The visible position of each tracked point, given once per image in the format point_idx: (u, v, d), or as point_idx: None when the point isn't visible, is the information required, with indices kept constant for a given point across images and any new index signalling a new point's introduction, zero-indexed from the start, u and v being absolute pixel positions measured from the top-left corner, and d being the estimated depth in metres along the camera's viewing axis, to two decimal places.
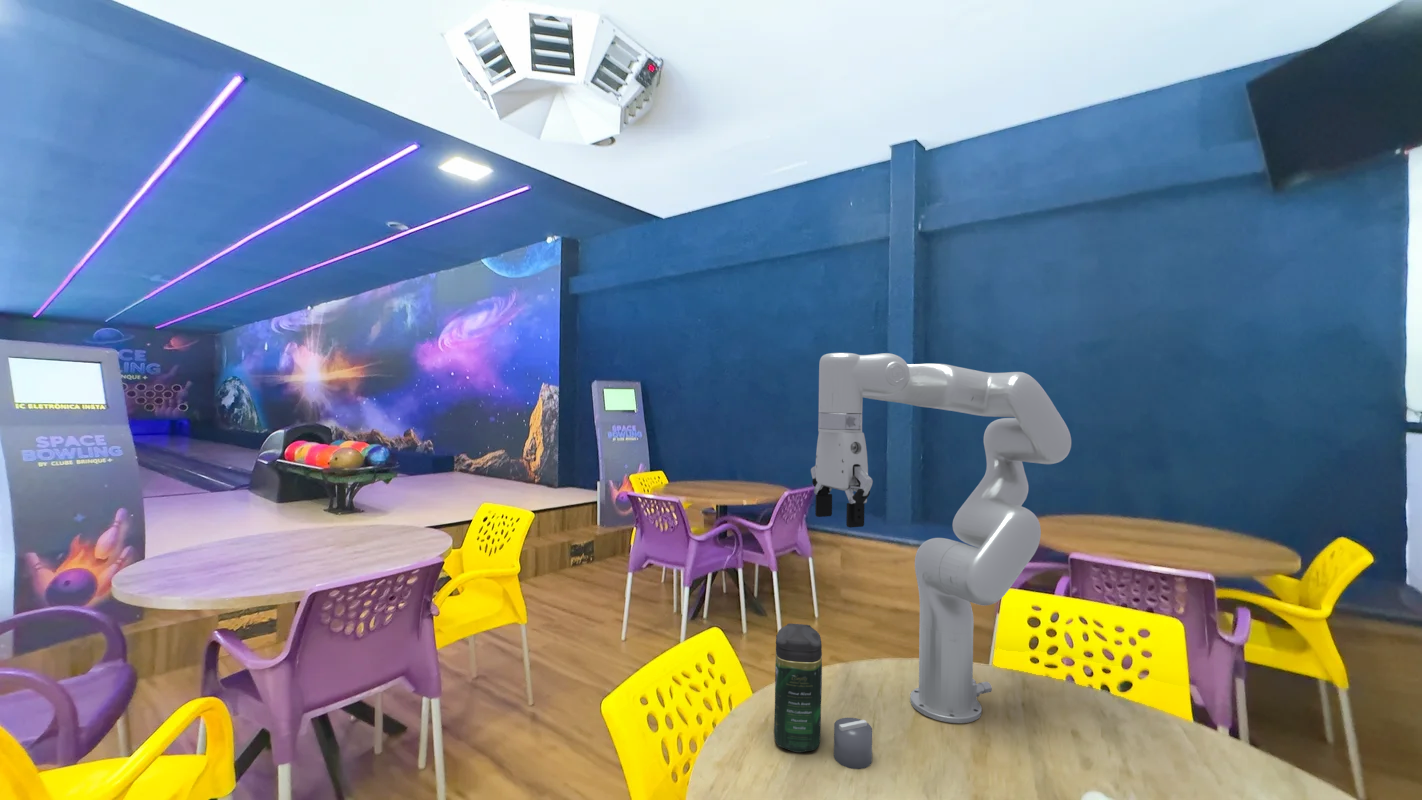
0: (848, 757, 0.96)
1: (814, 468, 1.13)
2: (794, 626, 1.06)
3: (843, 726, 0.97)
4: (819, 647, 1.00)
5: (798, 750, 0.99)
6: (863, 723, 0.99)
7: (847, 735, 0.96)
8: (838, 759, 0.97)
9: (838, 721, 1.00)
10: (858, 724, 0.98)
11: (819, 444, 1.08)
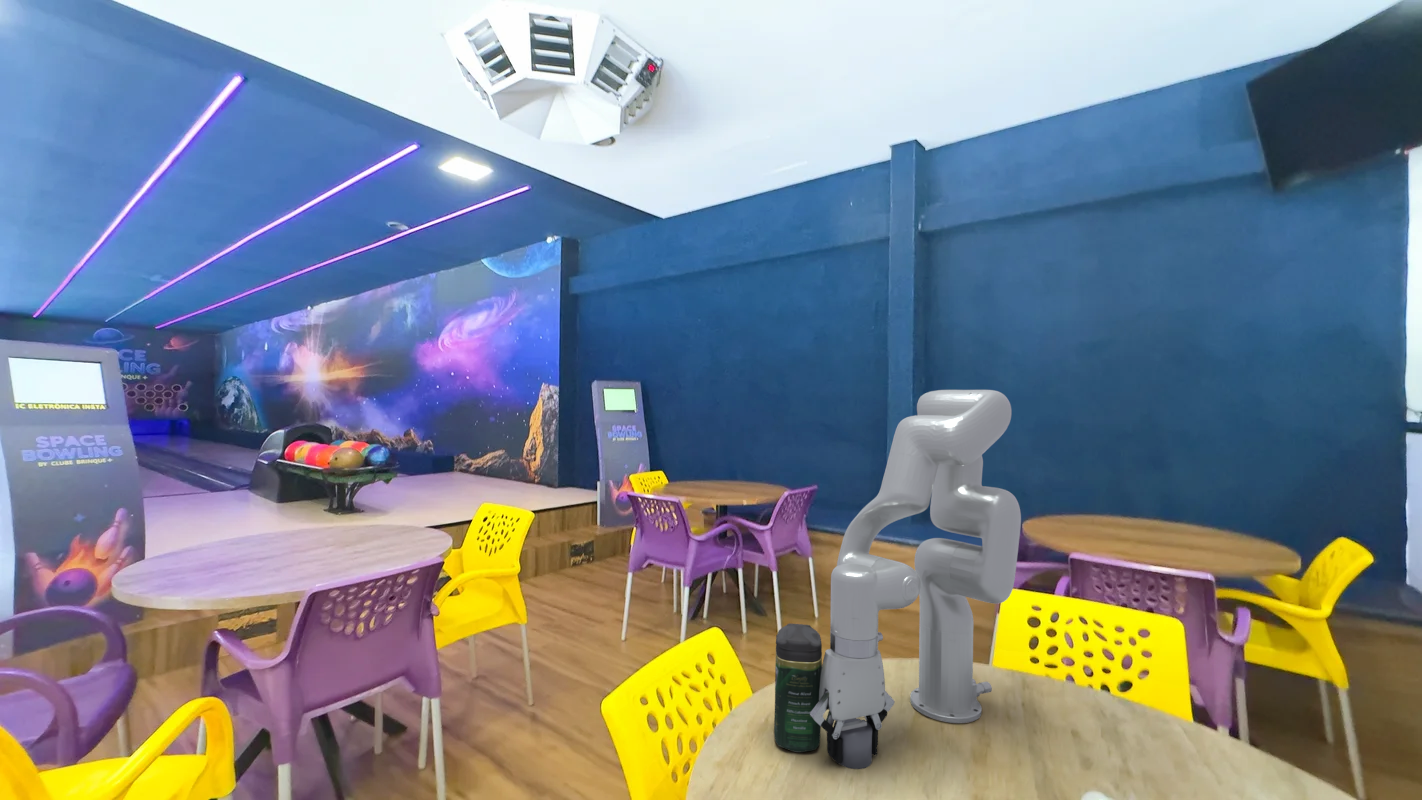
0: (848, 757, 0.96)
1: (819, 712, 0.95)
2: (794, 626, 1.06)
3: (843, 726, 0.97)
4: (819, 647, 1.00)
5: (798, 750, 0.99)
6: (863, 723, 0.99)
7: (847, 735, 0.96)
8: None
9: None
10: (858, 724, 0.98)
11: (846, 676, 0.95)
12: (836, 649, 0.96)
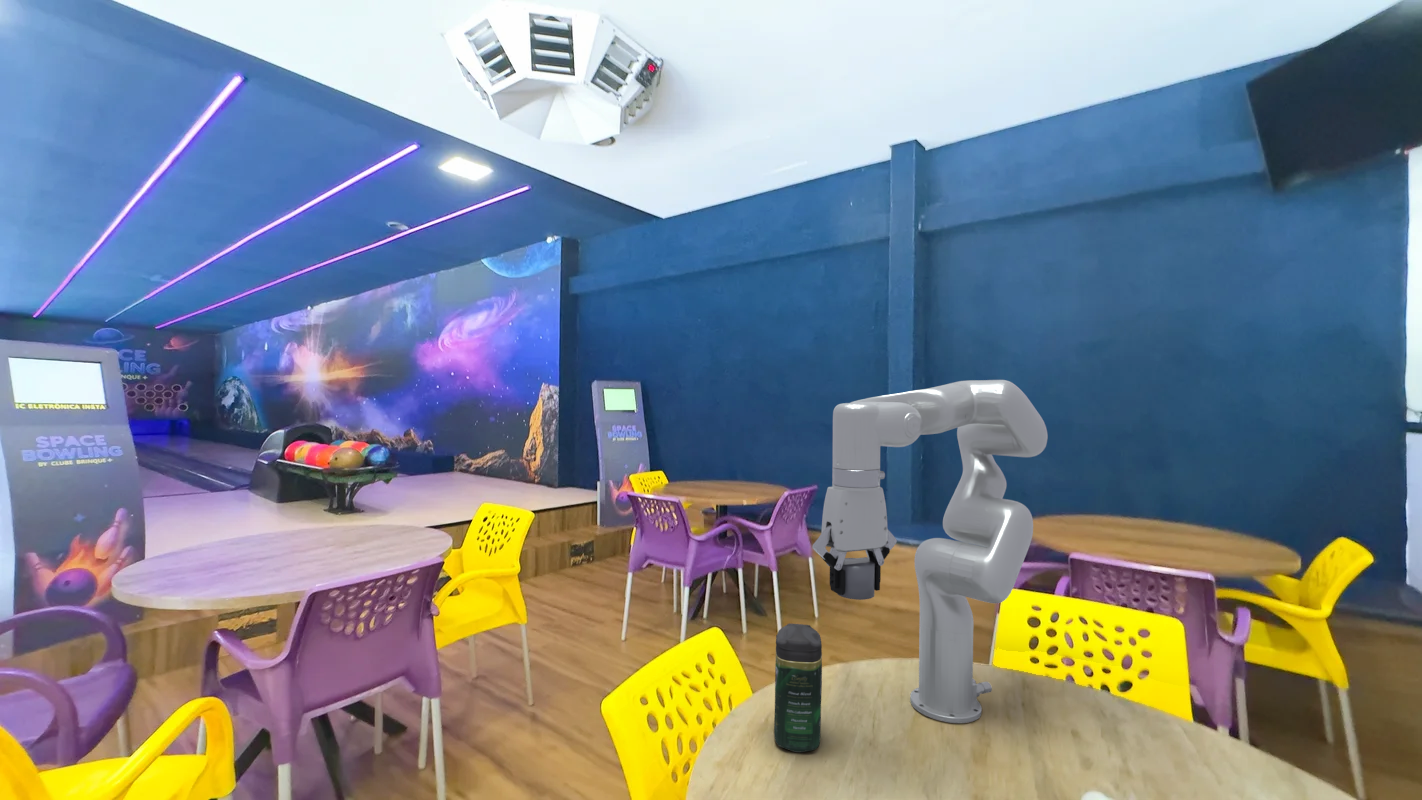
0: (850, 588, 0.96)
1: (822, 543, 0.96)
2: (794, 626, 1.06)
3: (845, 560, 0.97)
4: (819, 647, 1.00)
5: (798, 750, 0.99)
6: (865, 559, 0.99)
7: (849, 566, 0.96)
8: None
9: None
10: (860, 560, 0.98)
11: (848, 506, 0.95)
12: (838, 482, 0.97)
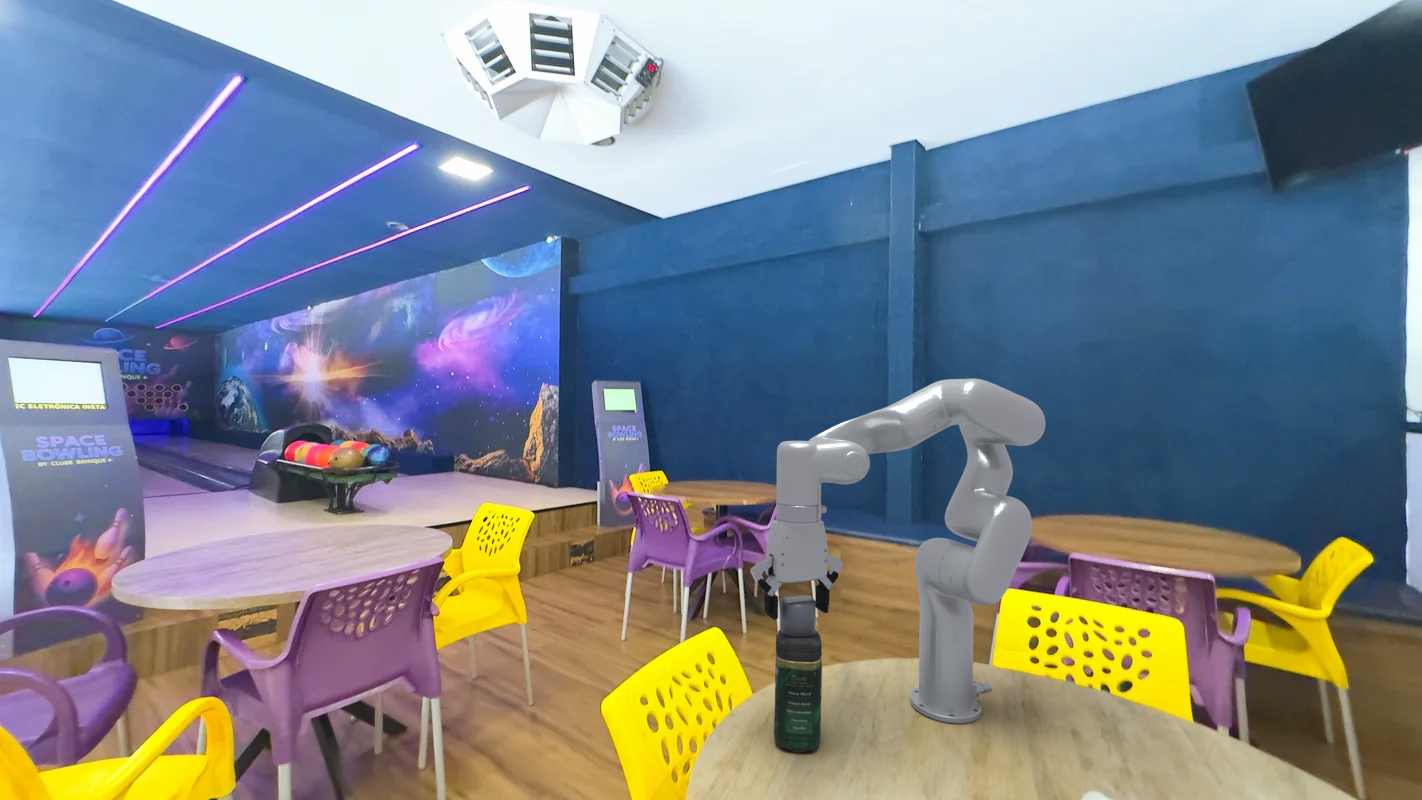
0: (791, 626, 1.01)
1: (760, 568, 1.00)
2: None
3: (788, 599, 1.03)
4: (819, 647, 1.00)
5: (798, 750, 0.99)
6: (807, 597, 1.04)
7: (790, 605, 1.01)
8: (783, 629, 1.02)
9: (785, 597, 1.05)
10: (802, 598, 1.04)
11: (789, 540, 1.00)
12: (780, 516, 1.02)
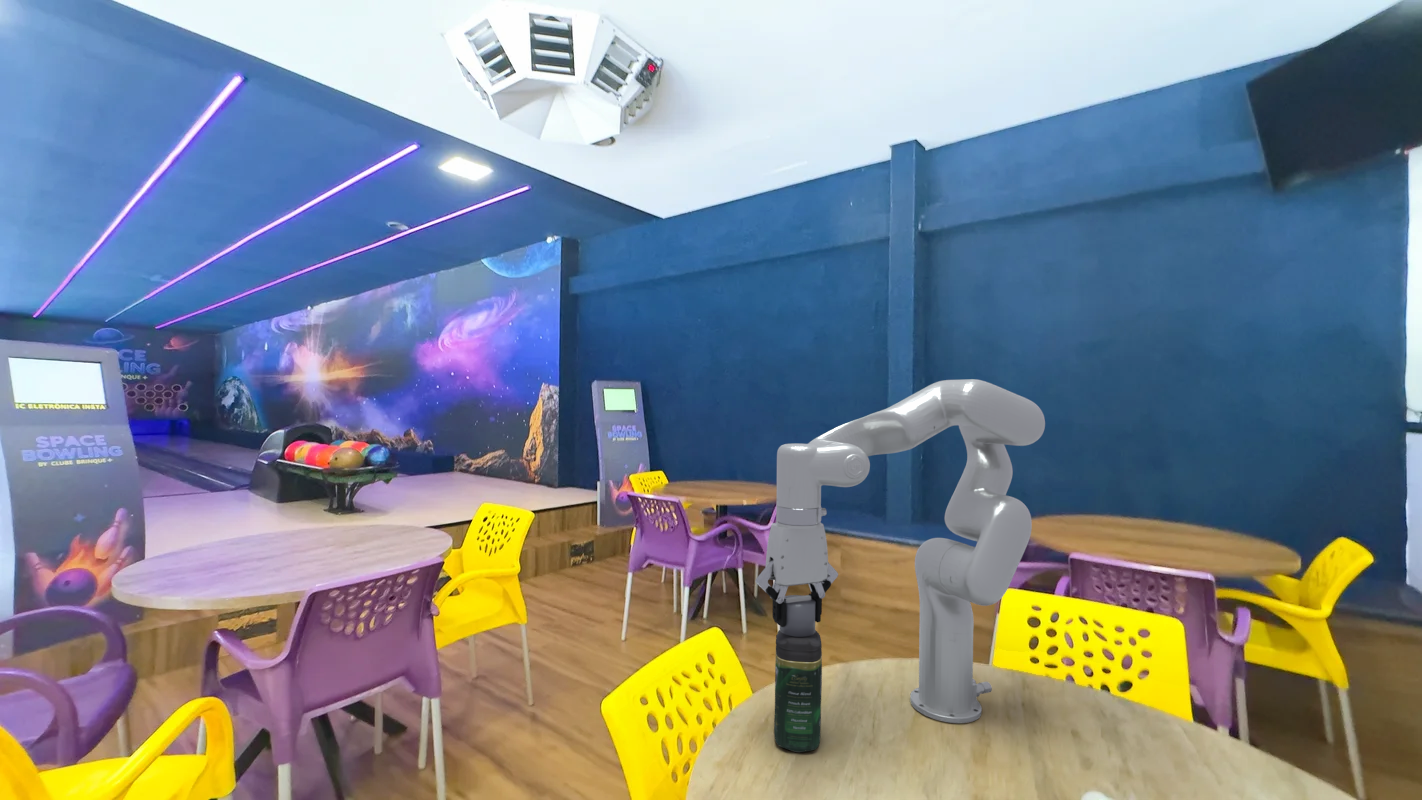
0: (791, 626, 1.01)
1: (764, 577, 1.01)
2: None
3: (788, 598, 1.03)
4: (819, 647, 1.00)
5: (798, 750, 0.99)
6: (807, 597, 1.04)
7: (790, 605, 1.01)
8: (783, 629, 1.02)
9: (785, 597, 1.05)
10: (802, 598, 1.03)
11: (789, 543, 1.00)
12: (780, 519, 1.02)
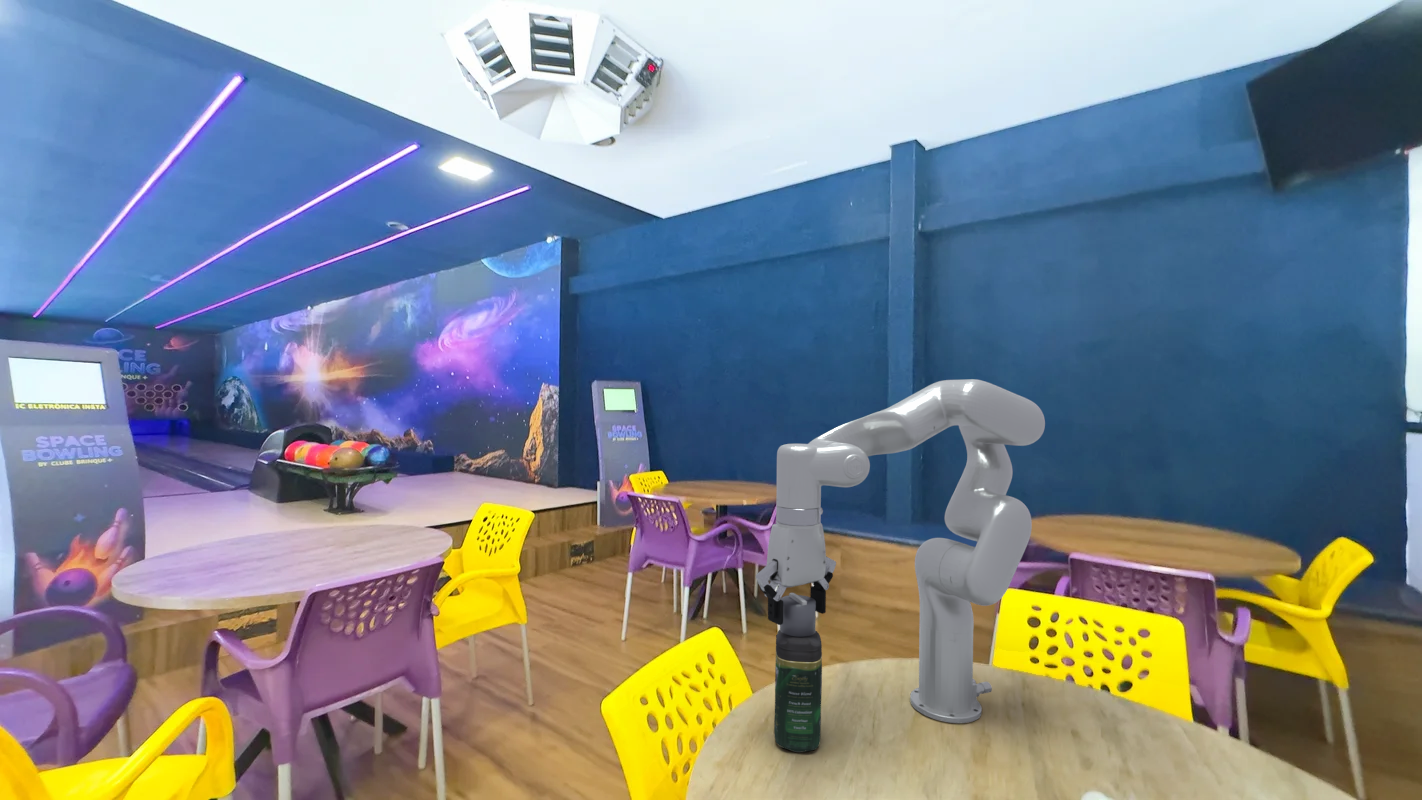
0: (814, 623, 1.02)
1: (766, 574, 0.99)
2: None
3: (804, 600, 1.02)
4: (819, 647, 1.01)
5: (798, 750, 0.99)
6: (795, 594, 1.05)
7: (813, 603, 1.02)
8: (808, 632, 1.01)
9: (788, 604, 1.02)
10: (797, 596, 1.05)
11: (794, 544, 1.00)
12: (784, 520, 1.01)
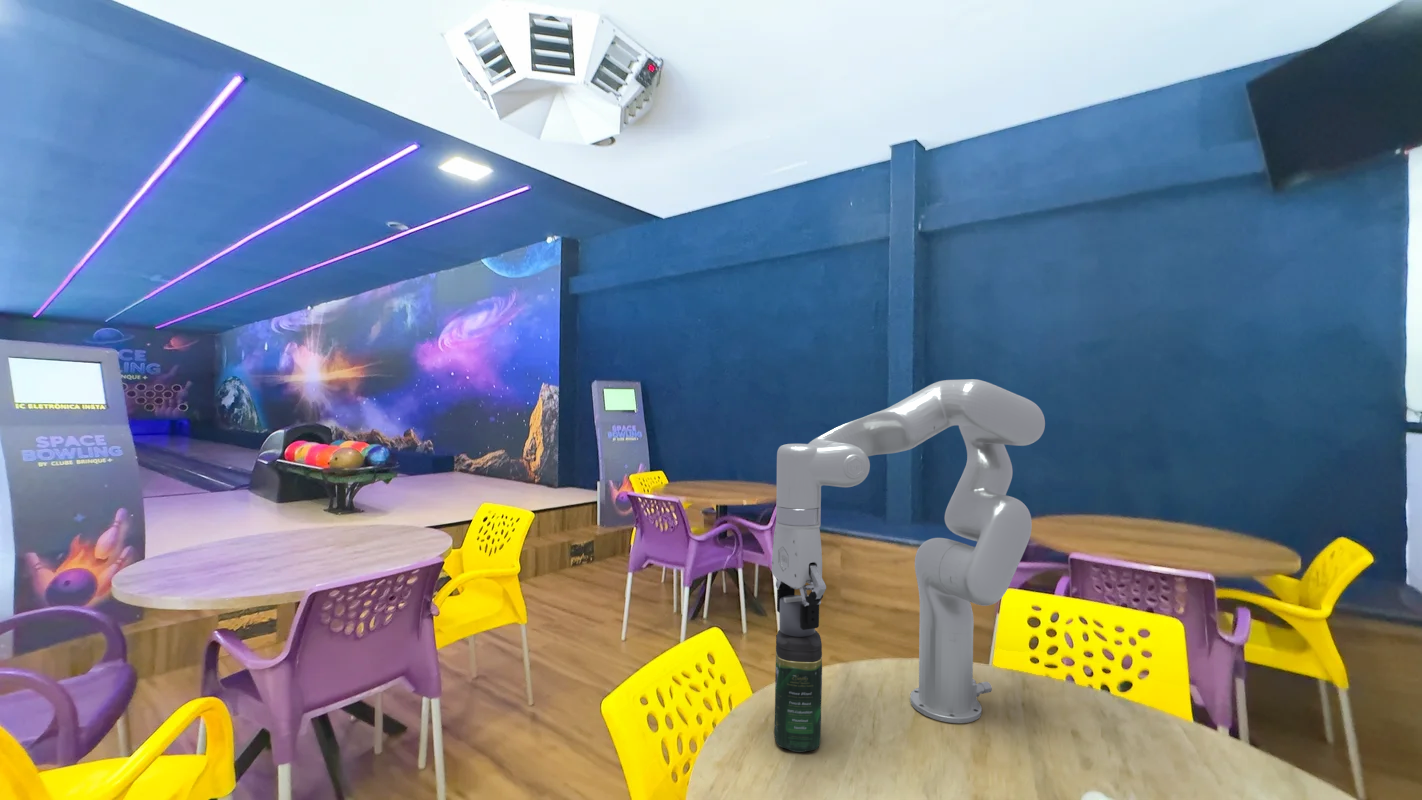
0: None
1: None
2: None
3: (807, 595, 1.04)
4: (820, 647, 1.01)
5: (798, 750, 0.99)
6: (787, 598, 1.03)
7: None
8: None
9: None
10: (792, 597, 1.04)
11: None
12: (812, 521, 1.00)
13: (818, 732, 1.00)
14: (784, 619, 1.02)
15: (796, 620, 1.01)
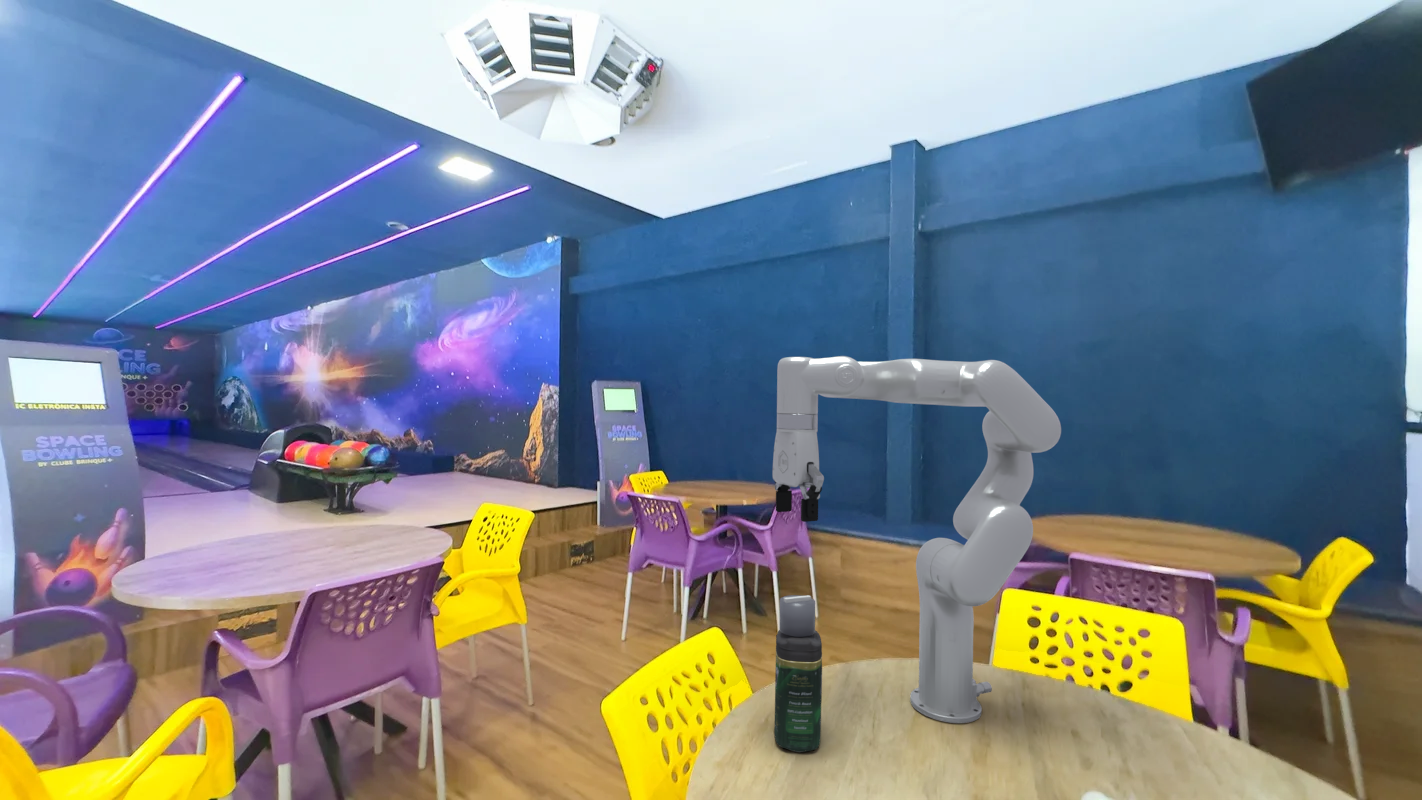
0: None
1: None
2: None
3: (807, 595, 1.04)
4: (820, 647, 1.01)
5: (798, 750, 0.99)
6: (787, 598, 1.03)
7: None
8: None
9: (810, 604, 1.02)
10: (792, 597, 1.04)
11: None
12: (810, 426, 1.09)
13: (818, 732, 1.00)
14: (784, 619, 1.02)
15: (796, 620, 1.01)
